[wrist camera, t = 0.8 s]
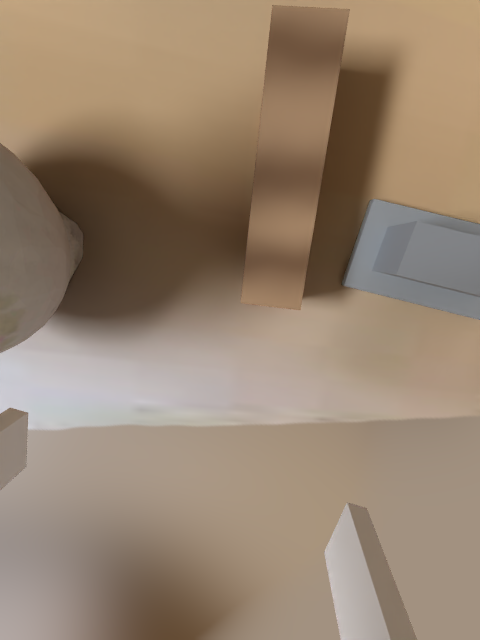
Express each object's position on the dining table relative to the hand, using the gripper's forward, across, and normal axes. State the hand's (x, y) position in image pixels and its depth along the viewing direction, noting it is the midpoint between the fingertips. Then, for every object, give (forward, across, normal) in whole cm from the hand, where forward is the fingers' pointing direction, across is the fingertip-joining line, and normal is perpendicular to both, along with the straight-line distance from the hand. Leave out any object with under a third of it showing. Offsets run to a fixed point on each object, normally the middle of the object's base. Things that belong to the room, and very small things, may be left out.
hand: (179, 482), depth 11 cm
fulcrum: (+20, +16, +12) cm, 28 cm away
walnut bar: (+20, +1, +15) cm, 25 cm away
